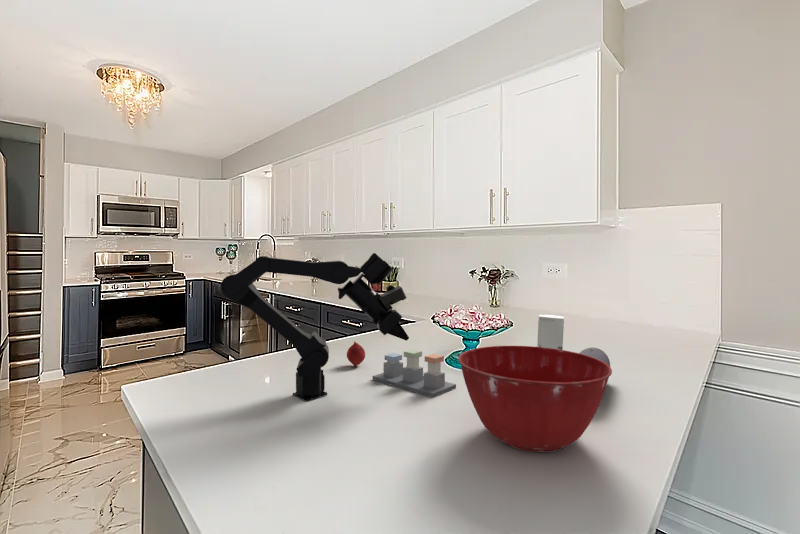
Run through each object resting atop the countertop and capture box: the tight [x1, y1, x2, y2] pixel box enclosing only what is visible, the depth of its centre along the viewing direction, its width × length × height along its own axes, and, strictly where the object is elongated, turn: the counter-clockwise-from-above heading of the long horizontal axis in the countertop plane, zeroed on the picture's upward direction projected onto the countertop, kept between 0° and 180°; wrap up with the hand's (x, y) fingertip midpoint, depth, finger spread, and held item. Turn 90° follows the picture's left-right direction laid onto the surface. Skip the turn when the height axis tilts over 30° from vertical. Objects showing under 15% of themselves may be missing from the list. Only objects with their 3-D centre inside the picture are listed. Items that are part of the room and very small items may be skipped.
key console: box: [372, 361, 457, 399], centre depth 117 cm, size 10×22×4 cm, turn 47°
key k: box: [424, 353, 445, 375], centre depth 112 cm, size 4×4×5 cm
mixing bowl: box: [457, 345, 613, 453], centre depth 84 cm, size 28×28×16 cm
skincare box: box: [536, 314, 565, 350], centre depth 142 cm, size 8×6×15 cm
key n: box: [403, 349, 423, 370], centre depth 117 cm, size 4×4×5 cm
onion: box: [346, 340, 366, 367], centre depth 135 cm, size 6×6×8 cm
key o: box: [384, 352, 403, 365], centre depth 122 cm, size 4×4×5 cm
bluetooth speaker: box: [578, 347, 611, 367], centre depth 110 cm, size 23×9×10 cm, turn 149°
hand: (407, 339), depth 111 cm, fingers closed
